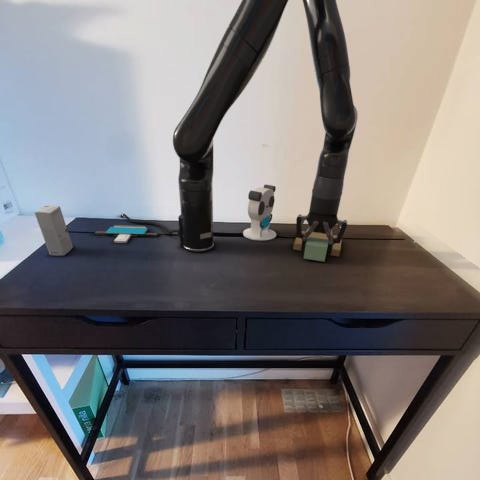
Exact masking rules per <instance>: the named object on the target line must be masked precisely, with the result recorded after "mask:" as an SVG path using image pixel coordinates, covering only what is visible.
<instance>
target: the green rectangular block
mask: <svg viewBox="0 0 480 480" xmlns="http://www.w3.org/2000/svg"><path fill="white" fill-rule="evenodd" d="M328 242H329V241H328V239H322V238H315V237H308V240H307V242H306V247H305V253H303V259H305V260H312V261H316V262H323V263H325V261H326V257H327V256H326V252H327V247H328Z"/></svg>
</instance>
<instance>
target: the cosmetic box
mask: <svg viewBox="0 0 480 480" xmlns="http://www.w3.org/2000/svg"><path fill="white" fill-rule="evenodd" d="M34 215H35V218H36V221H37V224H38V226H39V229H40V232H41V235H42V237H43V241H44V243H45V245H46V248H47V251H48V254H49V256H53V257H54V256H55V257H64V256H66V255H67V254H68V253H69V252H71V250H72V249H73V248H74V247H73V243H72V240H71V236H70V233H69V230H68V228H67V224H66V221H65V218H64V215H63V212H62V209H61V206H60V205H45V206H43V207H40V208H39V209H38V210H36V211H34Z"/></svg>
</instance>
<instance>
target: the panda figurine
mask: <svg viewBox="0 0 480 480" xmlns="http://www.w3.org/2000/svg"><path fill="white" fill-rule="evenodd" d="M276 189H277V188H276V186H275V185H271V184H264V185H263V187H257V188H255V189H253V190H249V192H248V196H247V197H248V205H247V214H248V215H247V216H248V217H249V219H250V227H248V228H245V229H244V230H243V231H242V235H243V237H245V238H246V239H249V240H252V241H258V242H260V241H261V242H264V241H265V242H266V241H271V240H274V239H275V238H276V237H277V233H276V231H274V230H273V229H270V226H271V221H272V219H273V209H274V205H275V201H276V199H275V193H276Z"/></svg>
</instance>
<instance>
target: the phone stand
mask: <svg viewBox="0 0 480 480" xmlns="http://www.w3.org/2000/svg"><path fill="white" fill-rule="evenodd" d="M148 231H149V229H148V228H147V225H133V224H132V225H131V224H113V226H110V227H109V228H108V229H107V230H96V231H94V235H95V236H96V235H97V236H116V237H115V239H114V240H113V243H114V244H127V243H128V242H129V240H130V239H131V237H145V238H151V237H152V238H153V237H154V238H156V237H158V235H159V234H158V232H148Z"/></svg>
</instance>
